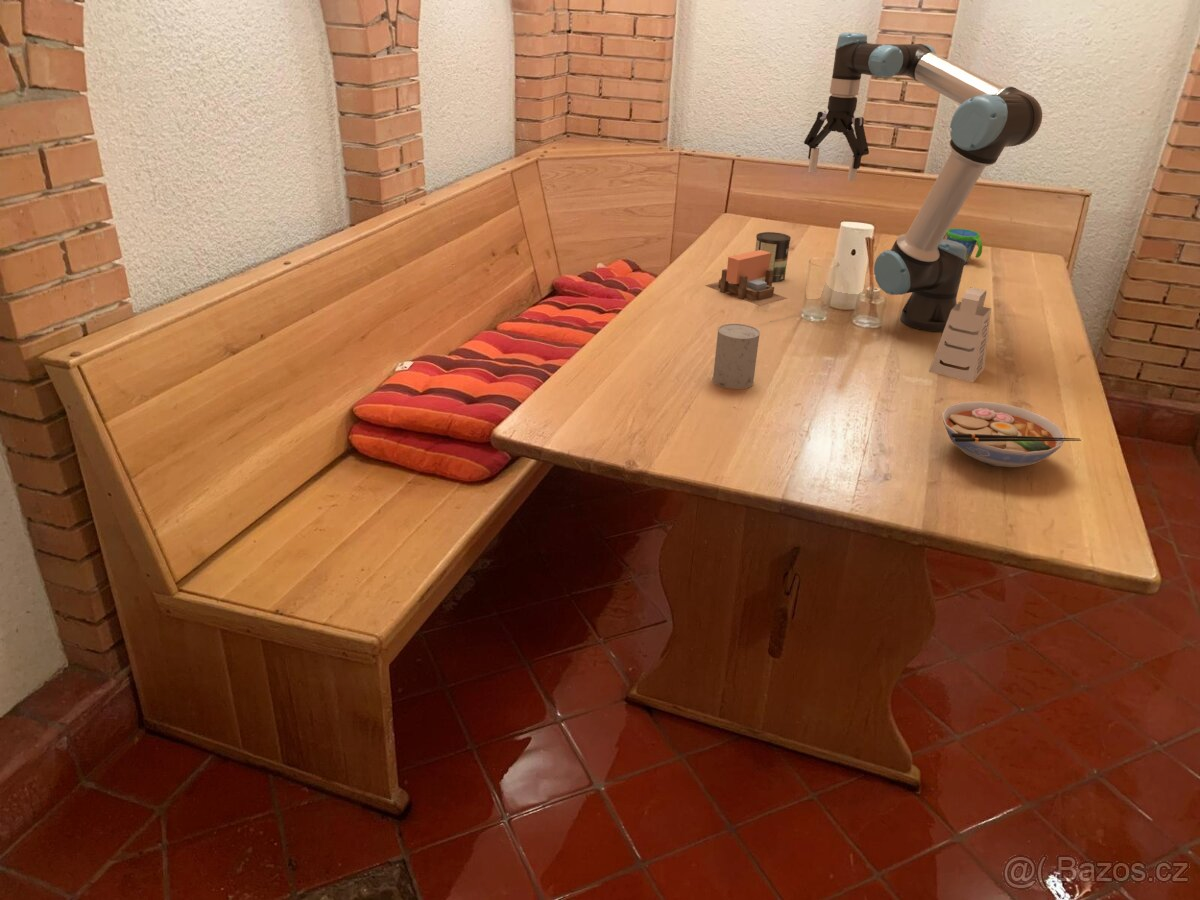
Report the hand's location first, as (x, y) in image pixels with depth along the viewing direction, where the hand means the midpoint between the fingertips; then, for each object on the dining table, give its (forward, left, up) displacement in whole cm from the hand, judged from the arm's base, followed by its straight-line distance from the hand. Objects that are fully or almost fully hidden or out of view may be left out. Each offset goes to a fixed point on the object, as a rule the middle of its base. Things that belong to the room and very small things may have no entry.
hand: (831, 176), depth 255 cm
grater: (-58, +17, -35) cm, 70 cm away
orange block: (+11, +18, -29) cm, 36 cm away
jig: (+11, +18, -35) cm, 41 cm away
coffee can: (+17, +1, -35) cm, 39 cm away
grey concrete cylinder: (-31, +68, -35) cm, 82 cm away
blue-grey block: (+11, +18, -34) cm, 39 cm away
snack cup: (-4, -73, -35) cm, 81 cm away
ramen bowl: (-88, +53, -35) cm, 108 cm away
